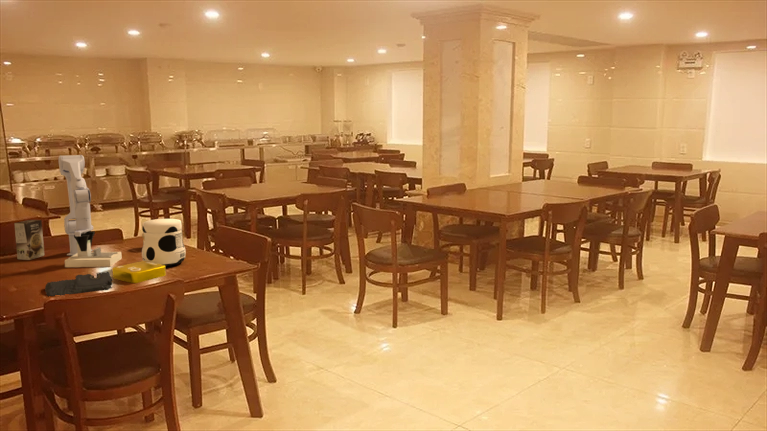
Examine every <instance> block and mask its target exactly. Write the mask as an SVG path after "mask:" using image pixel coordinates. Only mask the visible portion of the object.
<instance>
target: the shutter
mask: <svg viewBox="0 0 767 431" xmlns="http://www.w3.org/2000/svg"><path fill="white" fill-rule="evenodd" d="M92 250H93V251H92V252H93V254H94V256H93V257H102V256H112V255H113V254H114V252H115V251H104V252H105V253H101V252H102V250H101V247H96V248H94V249H92Z"/></svg>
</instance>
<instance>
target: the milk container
mask: <svg viewBox="0 0 767 431" xmlns="http://www.w3.org/2000/svg"><path fill="white" fill-rule="evenodd" d="M142 233H143V236H142V240H143V241H142V242H143V244H142V248H141V258H142V261H147V262H152V263H157V264H161V265H165V267H168V266H169V267H170V266H174V265H178V264H181V263H182V262H184V260H185V259H186V251H187V250H186V247H185V244H184V239H183V224H182V220H181V219H178V218H177V219H176V218H156V219H149V220H146V221H143V222H142Z"/></svg>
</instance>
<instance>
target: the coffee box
mask: <svg viewBox="0 0 767 431" xmlns="http://www.w3.org/2000/svg"><path fill="white" fill-rule="evenodd" d="M42 223H43V222H42V219H27V220H23V221H22V220H21V221H18V222H14V223H13V224H14V233H15V234H14V235H15V236H14V237H15V244H16V247H15V248H16V257H17V260H23V261H31V260H34V259H37V258H40V257H44V256H45V245H44V244H45V243H44V236H43V224H42Z"/></svg>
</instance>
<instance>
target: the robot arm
mask: <svg viewBox="0 0 767 431" xmlns="http://www.w3.org/2000/svg"><path fill="white" fill-rule="evenodd" d="M85 164H86V162H85V157H84V155H83V154H78V155H77V154H75V155H73V154H72V155H71V154H70V155H59V156H58V166H59V170H58V171H59V174H60V175H62V176H64V177H65V180H66V186H67V187H66V188H67V194H68V205H69V211H70V212H69V213H67V215H65V216H64V220H63V222H64V223H63V224H64V226H63V227H64V232H65V235H68V241H69V253H67V254H66V256H73V255H75V254H77V242H78V245H79V247H80V250H81V251H87V242H88V240H90V243H91V246H93V245H92V244H93V239H94V236H95V234H96V232H95V230H94V225H92V216H91V214H92V213H91V202H92V193H91V190H90V188H89V187H88V185H87V183H86V180H85V178H84V177H82V174H83V173H84V171H85V167H86V165H85ZM93 250H94V249H91V252H93Z"/></svg>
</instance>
